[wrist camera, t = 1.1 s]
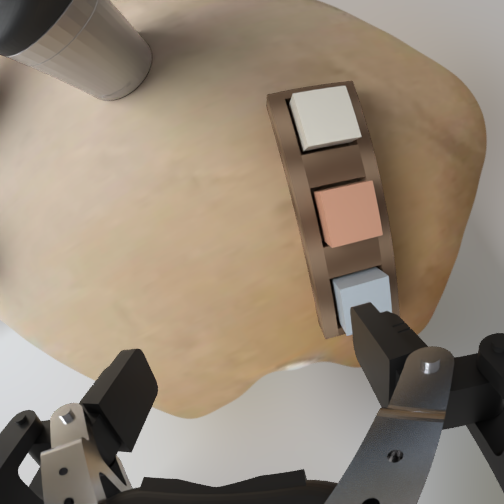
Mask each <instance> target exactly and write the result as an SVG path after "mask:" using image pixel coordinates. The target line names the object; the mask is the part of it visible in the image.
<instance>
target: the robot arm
mask: <svg viewBox="0 0 504 504" xmlns="http://www.w3.org/2000/svg"><path fill="white" fill-rule="evenodd" d="M0 55H2V56H5V57H8V58H10V59H13V60H15V61H18V62H20V63H22V64H25V65H27V66H30V67H32V68H34V69H37V70H39V71H41V72H43V73H46V74H48V75H50V76H52V77H54V78H57V79H59V80H61V81H63V82H65V83H67V84H69V85H72V86H74V87H76V88H78V89H80V90H82V91H84V92H86V93H88V94H90V95H92V96H94V97H96V98H98V99H101V100H107V101H110V100H116V99H119V98H122V97H124V96H126V95H128V94H129V93H131V92H132V91H133V90H135V89H136V88H137V87H138V86H139V85H140V84H141V83H142V81H143V80H144V78H145V77H146V75H147V73H148V71H149V69H150V66H151V62H152V54H151V49H150V47H149V46H148V44H147V43H146V42H145V40H144V39H143V38H142V37H141V36H140V35H139V33H138V32H137V31H136V30H135V29H134V27H133V26H132V25H131V24H130V23H129V22H128V21H127V19H126V18H125V17H124V16H123V15H122V14H121V13H120V11H119V10H118V9H117V8H116V7H115V6H114V5H113V4H112V2H111V1H110V0H0ZM350 316H351V325H352V334H353V344H354V350H355V354H356V357H357V360H358V362H359V364H360V365H361V367H362V369H363V371H364V373H365V375H366V377H367V379H368V381H369V383H370V385H371V387H372V389H373V391H374V393H375V395H376V397H377V399H378V401H379V403H380V405H381V407H382V408H380V410H379V411H378V413H377V415H376V417H375V419H374V421H373V423H372V425H371V427H370V429H369V431H368V433H367V435H366V437H365V438H364V440H363V442H362V444H361V446H360V448H359V450H358V451H357V453H356V455H355V457H354V458H353V460H352V462H351V463H350V465H349V467H348V468H347V470H346V472H345V473H344V475H343V476H342V478H341V479H340V481H339V483H334V482H328V481H320V480H307V479H306V475H305V471H304V469H303V470H297V471H292V472H285V473H279V474H271V475H263V476H258V477H255V478H252V479H248V480H245V481H241V482H237V483H234V484H230V485H226V486H221V487H211V486H206V485H201V484H196V483H191V482H188V481H183V480H179V479H164V478H150V477H144V478H143V481H142V484H141V487H139V488H134V489H133V488H132V486H131V484H130V482H129V479H128V477H127V475H126V472H125V470H124V467H123V465H122V463H121V461H120V459H119V458H118V457H117V455H116V454H117V452H118V451H122V452H132V450H133V448H134V445H135V443H136V441H137V438H138V436H139V434H140V432H141V429H142V427H143V425H144V423H145V420H146V418H147V416H148V413H149V411H150V409H151V407H152V405H153V403H154V400H155V398H156V396H157V393H158V386H157V382H156V379H155V377H154V375H153V373H152V371H151V369H150V367H149V364H148V362H147V360H146V358H145V356H144V354H143V352H142V351H141V350H140V349H131V350H122V351H121V352H120V353H119V354H118V356H117V357H116V358H115V359H114V361H113V362H112V363H111V365H110V366H109V367H107V368H106V369H105V370H104V371H103V372H102V373H101V375H100V376H99V377H98V379H97V380H96V381H95V383H94V385H92V387H91V388H90V389H89V391H88V392H87V393H86V395H85V396H84V397H83V399H82V400H81V401H80V403H79V404H78V403H70V404H66V405H64V406H62V407H60V408H59V409H57V410H56V411H55V412H54V413H53V415H52V416H51V419H50V420H48V421H40V419H39V418H38V417H37V415H36V414H35V412H34V411H31V410H26V411H23V412H21V413H19V414H17V415H16V416H15V417H13V418H12V420H11V421H10V422H9V423H8V425H7V426H6V427H5V429H4V430H3V431H2V432H1V433H0V504H417V502H418V500H419V497H420V495H421V492H422V490H423V487H424V485H425V482H426V479H427V477H428V474H429V471H430V468H431V465H432V462H433V459H434V456H435V452H436V449H437V446H438V442H439V439H440V435H441V431H442V430H443V429H449V428H454V427H459V426H463V425H466V426H467V428H468V429H469V431H470V433H471V434H472V436H473V438H474V439H475V441H476V443H477V444H478V446H479V448H480V450H481V451H482V453H483V455H484V457H485V458H486V460H487V462H488V463H489V465H490V467H491V469H492V471H493V473H494V474H495V477H496V479H497V480H498V482H499V484H500V486H501V488H502V490H503V492H504V334H503V333H497V334H492V335H489V336H487V337H485V338H484V339H483V340H482V341H481V343H480V345H479V351H478V353H476V354H472V355H467V356H463V357H456V358H455V357H454V356H453V355H452V354H451V352H449V351H448V350H446V349H444V348H441V347H433V346H431V347H428V346H427V345H426V344H425V343H424V342H423V341H422V340H421V339H420V338H419V336H418V335H417V334H416V333H415V332H414V331H413V330H412V329H410V327H409V326H408V325H407V324H406V323H405V322H404V321H403V320H402V319H401V318H400V317H399V316H398V315H396V314H394V313H391V312H389V311H384V312H381V313H380V312H379V311H378V310H377V308H376V307H375V306H374V305H373V304H372V303H371V302H368V303H365V304H361V305H357V306H354V307H351V308H350ZM27 453H29V454H30V455H31V456H32V458H33V459H34V460H35V461H36V462H37V463H38V464H39V466H40V468H39V470H38V472H37V474H36V475H35V477H34V478H33V480H32V482H31V484H30V486H29V487H28V486H27V485H26V484H25V483H24V482H23V481H22V480H21V479H20V477H19V475H18V467H19V466H20V464H21V462H22V461H23V459H24V458H25V456H26V454H27Z"/></svg>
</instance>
